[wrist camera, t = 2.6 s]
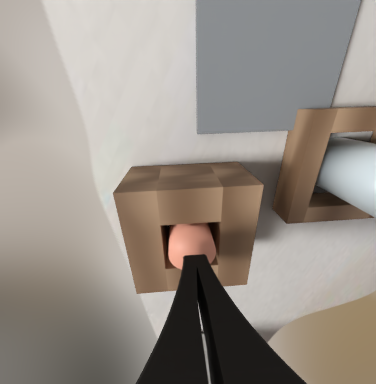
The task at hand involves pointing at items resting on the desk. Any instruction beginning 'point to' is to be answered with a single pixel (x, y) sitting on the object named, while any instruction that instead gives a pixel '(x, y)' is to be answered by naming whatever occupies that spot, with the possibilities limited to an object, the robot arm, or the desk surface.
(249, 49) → the pad
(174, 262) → the plunger
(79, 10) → the desk surface
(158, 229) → the plunger housing
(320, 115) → the sleeve
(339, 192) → the cylinder
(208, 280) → the robot arm
